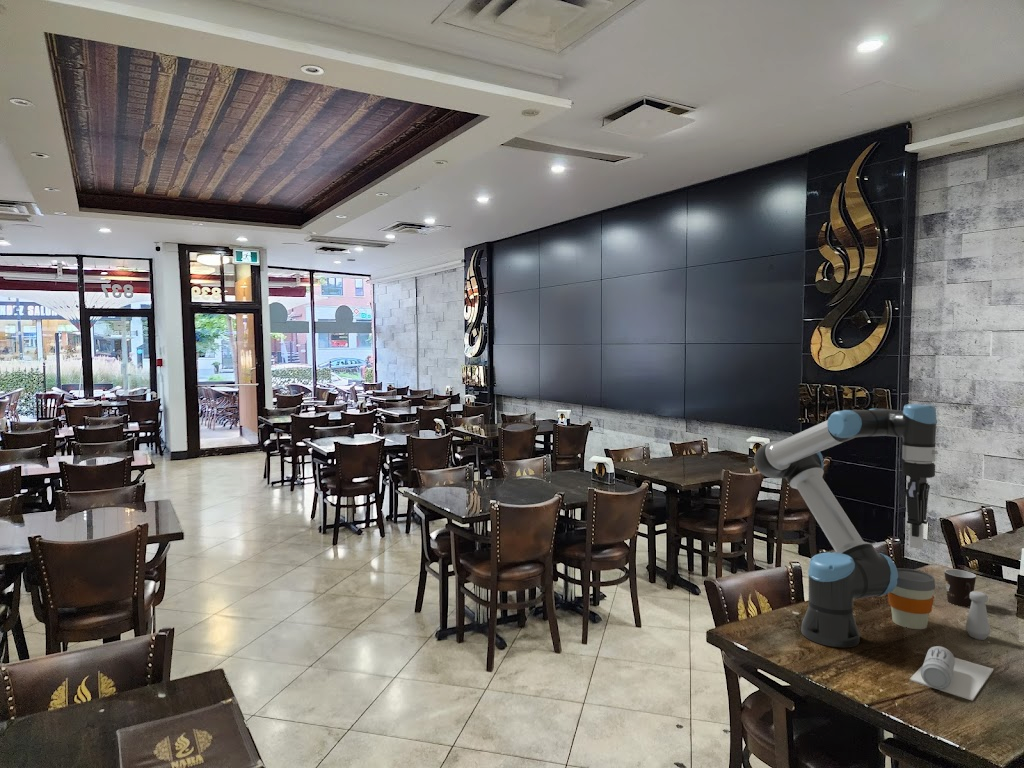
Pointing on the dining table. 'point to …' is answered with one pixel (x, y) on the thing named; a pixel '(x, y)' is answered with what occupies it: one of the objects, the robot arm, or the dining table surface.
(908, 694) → the dining table surface
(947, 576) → the coffee mug
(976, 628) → the salt shaker
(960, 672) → the mat
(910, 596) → the reusable coffee cup
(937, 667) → the energy drink can
